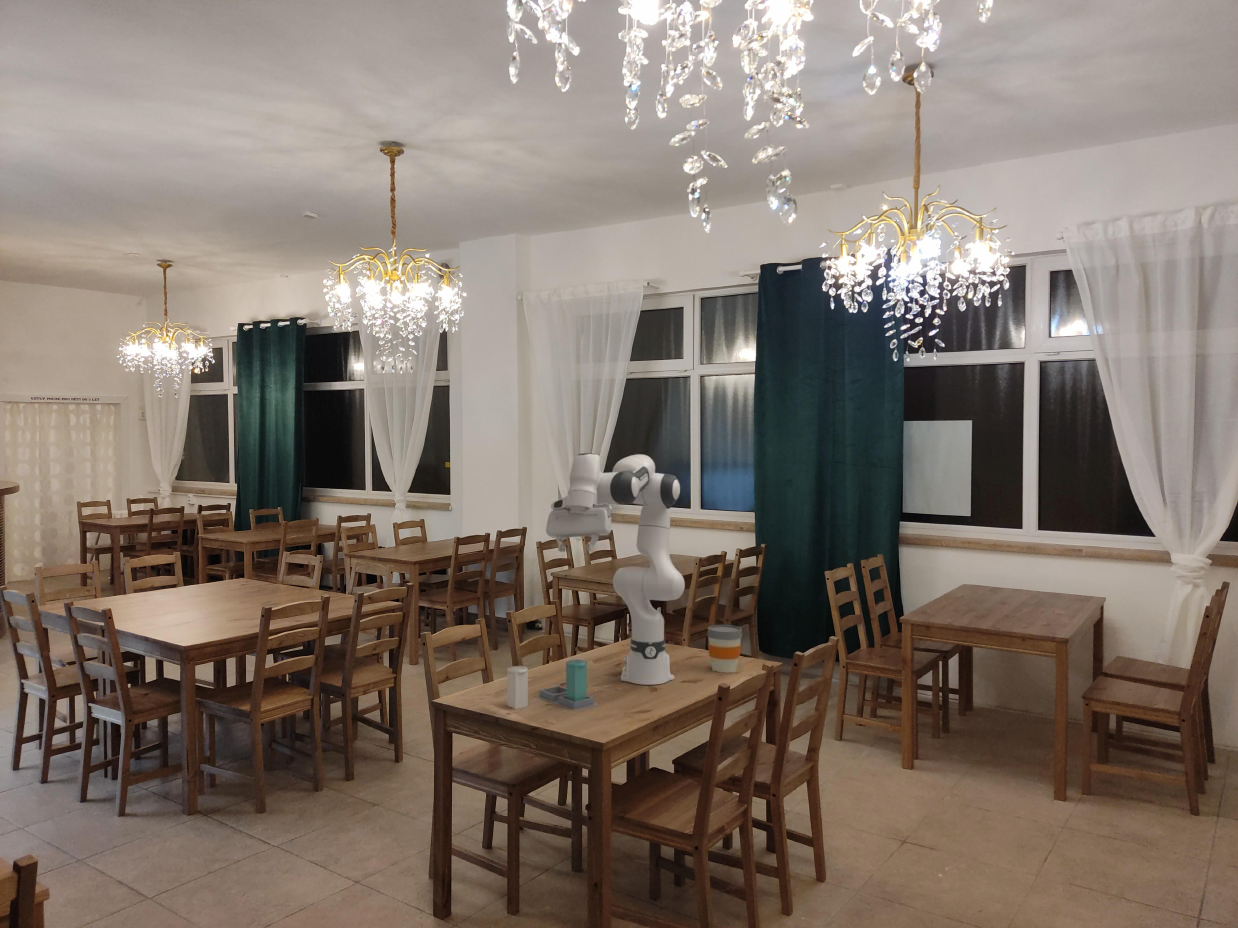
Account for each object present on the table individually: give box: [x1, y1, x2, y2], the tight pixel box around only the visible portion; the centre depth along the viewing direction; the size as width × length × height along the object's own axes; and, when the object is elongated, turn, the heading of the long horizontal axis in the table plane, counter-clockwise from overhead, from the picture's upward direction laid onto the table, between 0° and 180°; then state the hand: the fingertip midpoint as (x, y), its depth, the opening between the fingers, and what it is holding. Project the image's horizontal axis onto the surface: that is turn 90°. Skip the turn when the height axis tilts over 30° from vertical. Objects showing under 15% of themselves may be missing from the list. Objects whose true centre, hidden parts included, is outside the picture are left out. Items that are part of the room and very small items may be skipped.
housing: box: [534, 685, 600, 712], centre depth 274 cm, size 20×10×4 cm, turn 41°
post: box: [506, 665, 529, 710], centre depth 268 cm, size 6×6×13 cm
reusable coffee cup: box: [707, 624, 743, 674], centre depth 319 cm, size 13×13×15 cm
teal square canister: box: [565, 658, 588, 702], centre depth 270 cm, size 6×6×13 cm
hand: (575, 550), depth 251 cm, fingers open, 8 cm apart
